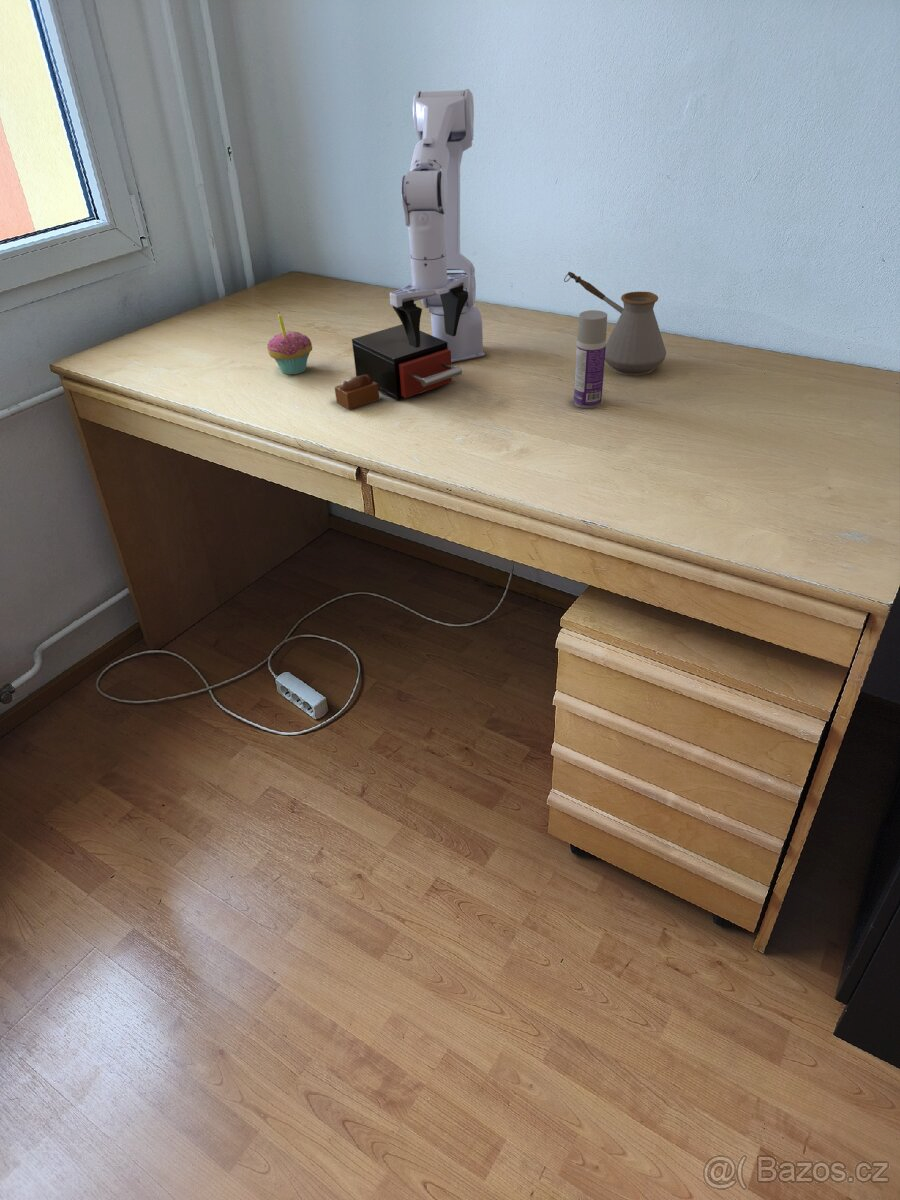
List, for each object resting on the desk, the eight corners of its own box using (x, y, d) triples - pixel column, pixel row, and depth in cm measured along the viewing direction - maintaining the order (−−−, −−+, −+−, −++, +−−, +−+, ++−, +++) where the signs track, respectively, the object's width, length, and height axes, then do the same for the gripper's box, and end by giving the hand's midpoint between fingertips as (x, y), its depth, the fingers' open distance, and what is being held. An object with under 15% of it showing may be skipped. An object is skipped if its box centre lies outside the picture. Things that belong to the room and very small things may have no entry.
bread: (366, 392, 144) (364, 369, 142) (379, 399, 142) (377, 376, 139) (336, 402, 141) (333, 379, 139) (349, 410, 139) (345, 386, 136)
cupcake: (306, 379, 151) (296, 315, 143) (264, 377, 152) (252, 314, 145) (321, 362, 157) (312, 300, 150) (280, 360, 159) (269, 299, 151)
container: (603, 398, 138) (610, 310, 129) (598, 409, 134) (605, 320, 125) (576, 396, 139) (581, 309, 130) (571, 407, 136) (575, 318, 126)
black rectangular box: (449, 382, 146) (447, 342, 142) (397, 400, 141) (393, 359, 136) (406, 362, 155) (403, 323, 150) (356, 379, 150) (351, 339, 145)
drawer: (468, 389, 141) (467, 357, 138) (421, 406, 136) (418, 373, 133) (412, 363, 152) (410, 332, 149) (366, 377, 147) (363, 347, 144)
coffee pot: (675, 364, 148) (686, 281, 139) (644, 384, 142) (653, 298, 132) (579, 341, 160) (583, 263, 151) (545, 359, 153) (548, 278, 144)
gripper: (405, 269, 120) (411, 357, 129) (479, 250, 127) (481, 335, 135) (379, 261, 125) (387, 346, 133) (452, 243, 132) (455, 325, 140)
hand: (433, 340), depth 135 cm, fingers open, 7 cm apart
